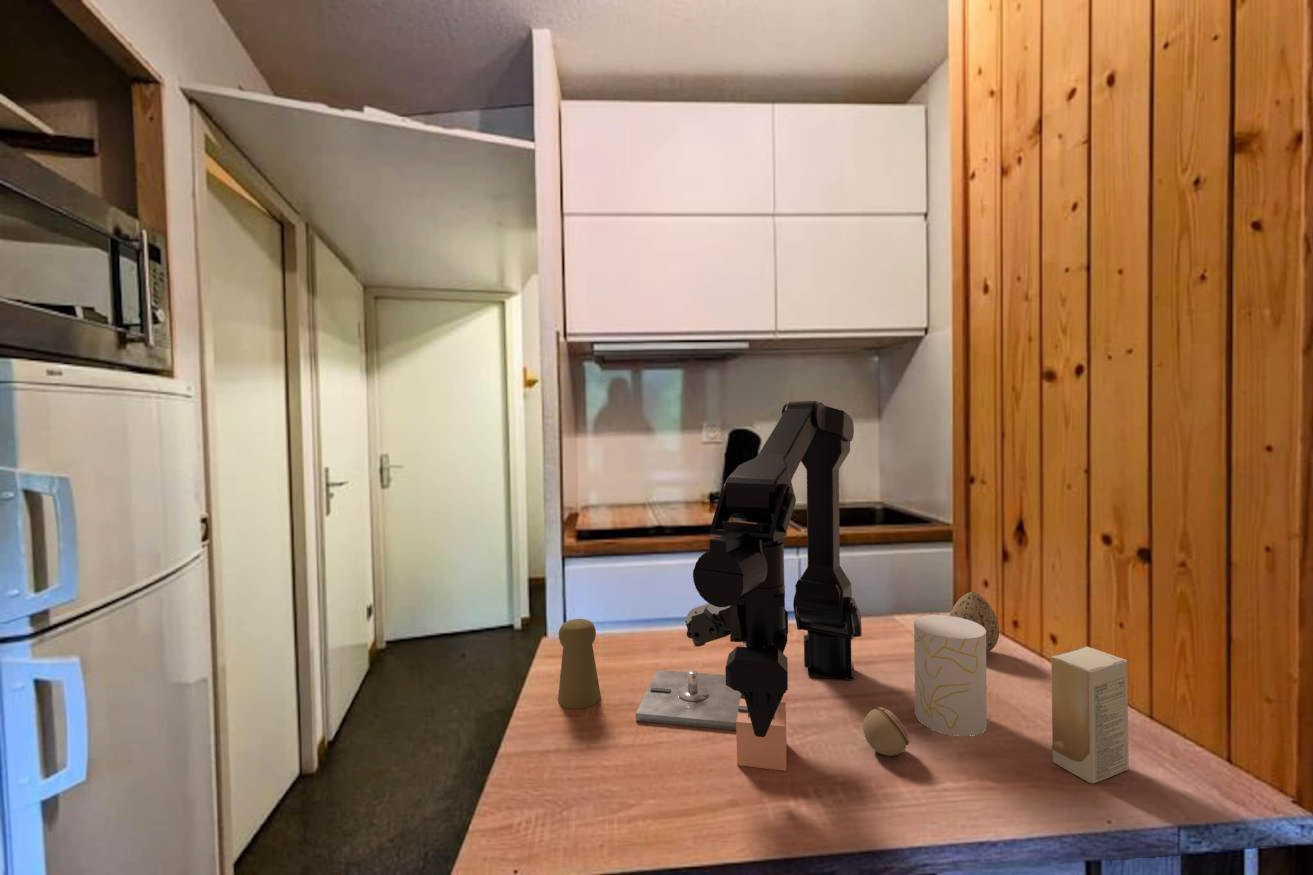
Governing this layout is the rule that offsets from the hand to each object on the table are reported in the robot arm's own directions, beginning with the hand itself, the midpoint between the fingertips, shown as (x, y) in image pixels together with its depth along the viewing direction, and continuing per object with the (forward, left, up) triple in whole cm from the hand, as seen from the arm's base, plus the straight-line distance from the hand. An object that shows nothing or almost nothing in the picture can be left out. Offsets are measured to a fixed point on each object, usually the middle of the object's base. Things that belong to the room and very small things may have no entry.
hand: (762, 714), depth 67 cm
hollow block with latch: (0, 0, -5) cm, 5 cm away
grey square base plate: (+10, -11, -5) cm, 16 cm away
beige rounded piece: (-14, -3, -5) cm, 15 cm away
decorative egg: (-32, -34, -5) cm, 47 cm away
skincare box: (-35, -4, -5) cm, 36 cm away
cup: (-23, -12, -5) cm, 26 cm away
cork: (+26, -9, -5) cm, 28 cm away
